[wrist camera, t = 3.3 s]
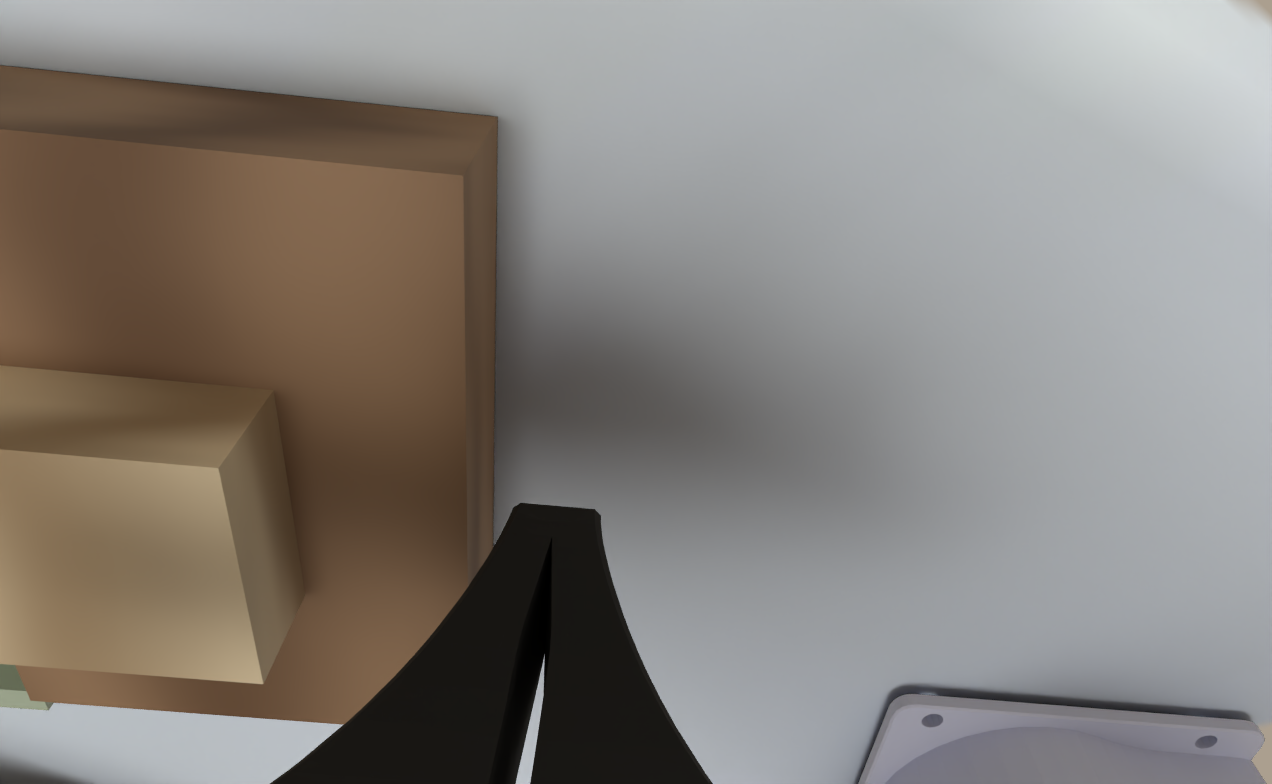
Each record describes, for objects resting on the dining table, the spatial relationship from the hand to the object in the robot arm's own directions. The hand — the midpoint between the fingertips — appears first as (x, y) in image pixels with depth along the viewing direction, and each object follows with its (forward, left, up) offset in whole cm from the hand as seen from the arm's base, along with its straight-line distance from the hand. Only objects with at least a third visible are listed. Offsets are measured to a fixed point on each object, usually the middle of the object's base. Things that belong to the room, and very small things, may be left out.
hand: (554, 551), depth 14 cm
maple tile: (+7, 0, -1) cm, 7 cm away
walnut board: (+6, 0, -4) cm, 7 cm away
